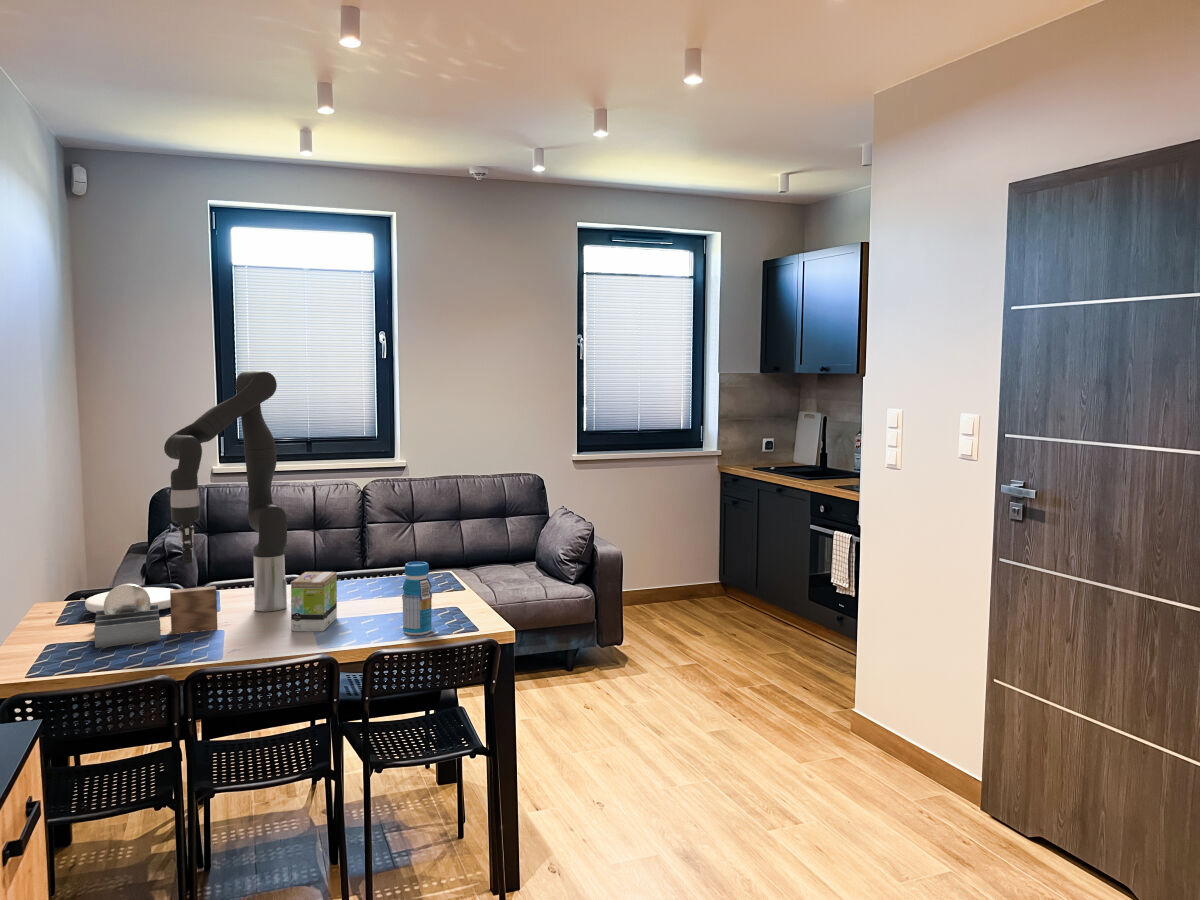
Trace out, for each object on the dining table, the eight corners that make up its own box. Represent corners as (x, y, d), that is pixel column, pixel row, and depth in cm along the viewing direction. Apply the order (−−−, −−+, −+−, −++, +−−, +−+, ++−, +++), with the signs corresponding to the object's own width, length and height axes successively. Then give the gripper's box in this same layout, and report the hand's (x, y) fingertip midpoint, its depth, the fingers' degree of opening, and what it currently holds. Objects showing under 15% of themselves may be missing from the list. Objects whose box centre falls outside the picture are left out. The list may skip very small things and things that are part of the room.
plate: (130, 583, 299) (201, 587, 294) (129, 602, 299) (200, 607, 294) (64, 593, 272) (141, 598, 266) (63, 615, 272) (140, 620, 266)
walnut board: (216, 625, 265) (215, 585, 264) (217, 629, 261) (216, 588, 260) (171, 631, 259) (170, 590, 258) (172, 634, 255) (170, 593, 254)
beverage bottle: (402, 636, 254) (401, 567, 253) (402, 628, 263) (402, 561, 261) (432, 635, 256) (431, 566, 254) (432, 627, 264) (431, 560, 263)
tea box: (325, 631, 259) (324, 581, 258) (290, 632, 258) (289, 581, 257) (337, 618, 274) (337, 570, 273) (304, 618, 273) (303, 570, 272)
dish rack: (158, 622, 267) (157, 579, 266) (160, 640, 250) (159, 593, 249) (97, 629, 260) (95, 584, 259) (95, 648, 242) (93, 599, 241)
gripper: (200, 506, 253) (202, 563, 254) (198, 500, 266) (200, 554, 267) (171, 508, 249) (173, 566, 251) (170, 502, 262) (172, 556, 264)
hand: (187, 560), depth 259 cm, fingers open, 8 cm apart
